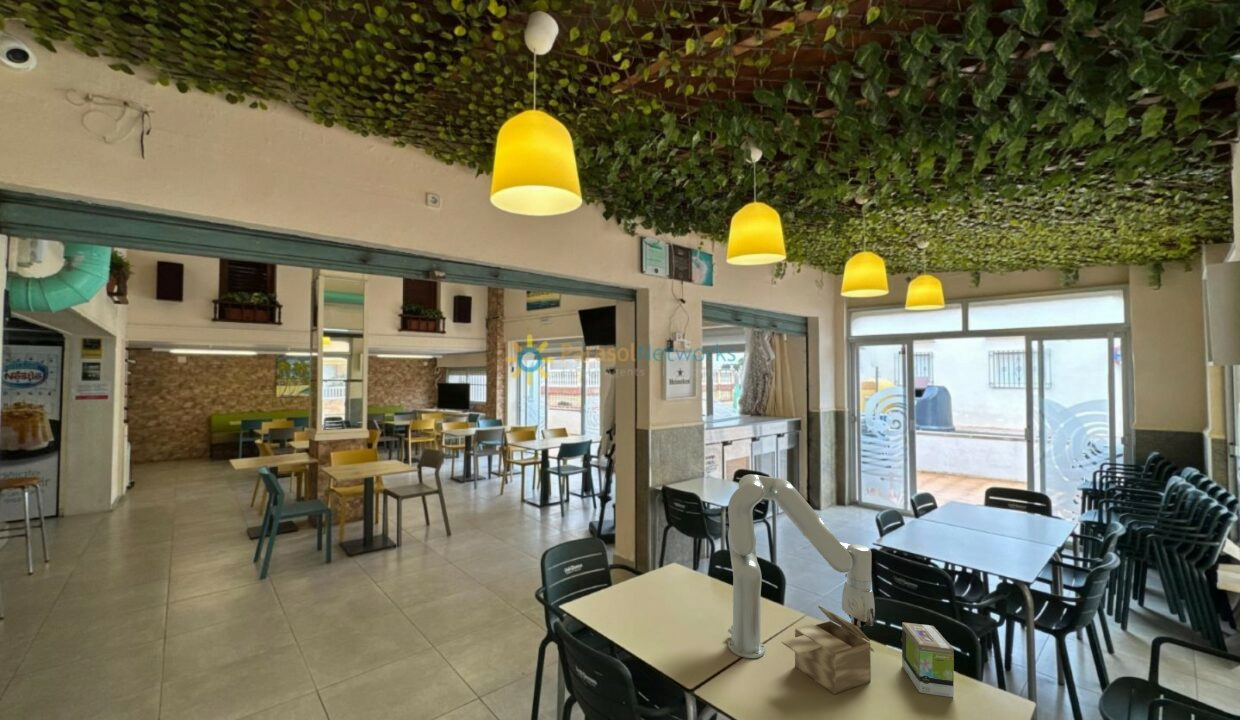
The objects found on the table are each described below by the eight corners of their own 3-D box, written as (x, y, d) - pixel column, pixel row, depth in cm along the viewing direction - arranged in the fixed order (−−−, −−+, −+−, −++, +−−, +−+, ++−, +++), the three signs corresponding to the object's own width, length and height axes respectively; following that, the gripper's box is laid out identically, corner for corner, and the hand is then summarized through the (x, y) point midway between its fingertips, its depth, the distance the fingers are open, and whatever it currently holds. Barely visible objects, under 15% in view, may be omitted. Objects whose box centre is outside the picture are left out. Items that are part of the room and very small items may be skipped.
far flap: (818, 607, 168) (818, 605, 168) (845, 635, 173) (845, 634, 173) (856, 628, 154) (857, 626, 154) (885, 658, 159) (885, 657, 159)
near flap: (851, 648, 153) (851, 646, 153) (808, 661, 145) (808, 659, 145) (813, 625, 167) (813, 623, 167) (772, 636, 159) (772, 634, 159)
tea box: (955, 698, 148) (954, 648, 148) (918, 693, 150) (918, 644, 150) (934, 669, 163) (933, 624, 163) (900, 665, 165) (900, 620, 165)
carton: (795, 666, 163) (795, 629, 164) (829, 655, 170) (829, 620, 170) (834, 694, 149) (834, 654, 149) (870, 681, 155) (870, 643, 156)
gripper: (833, 575, 174) (832, 628, 173) (870, 593, 160) (869, 650, 160) (848, 572, 177) (847, 624, 176) (886, 589, 163) (885, 645, 163)
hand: (858, 636), depth 168 cm, fingers closed
